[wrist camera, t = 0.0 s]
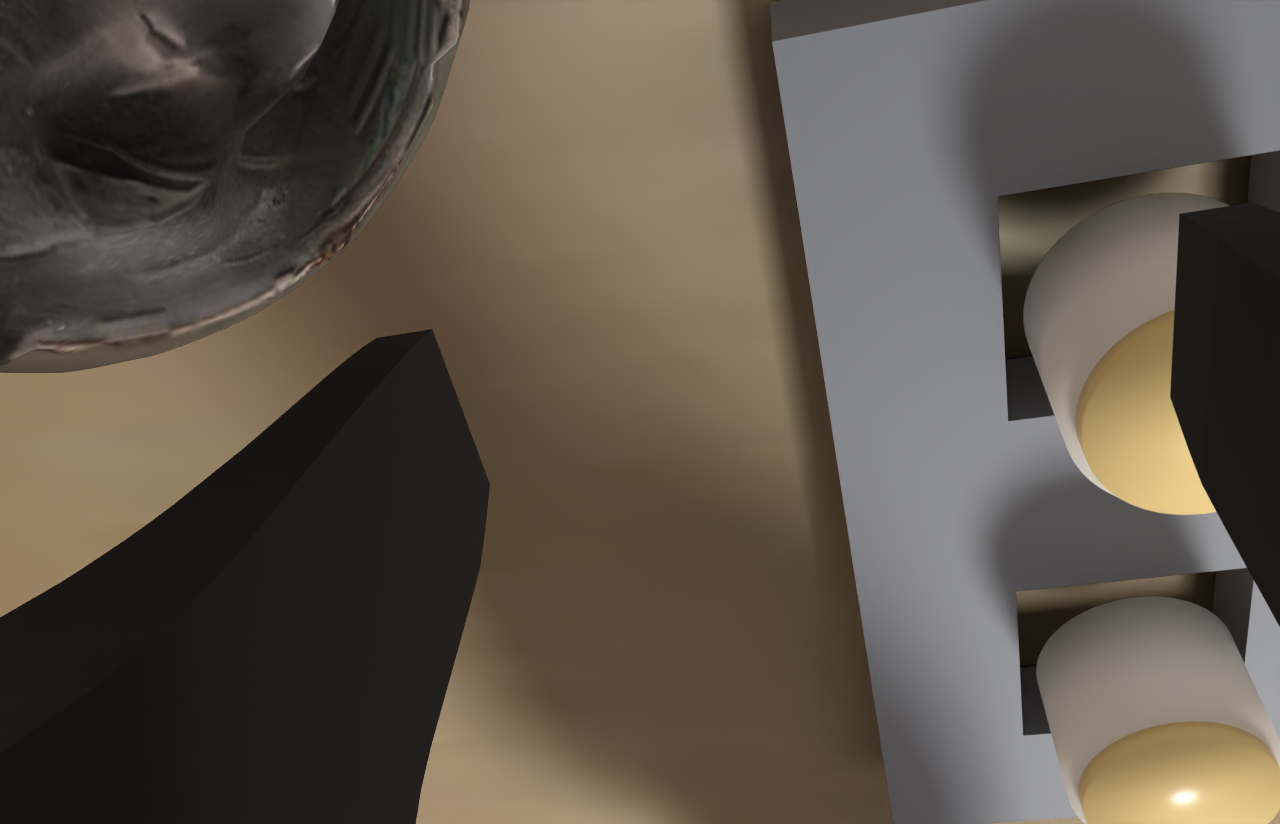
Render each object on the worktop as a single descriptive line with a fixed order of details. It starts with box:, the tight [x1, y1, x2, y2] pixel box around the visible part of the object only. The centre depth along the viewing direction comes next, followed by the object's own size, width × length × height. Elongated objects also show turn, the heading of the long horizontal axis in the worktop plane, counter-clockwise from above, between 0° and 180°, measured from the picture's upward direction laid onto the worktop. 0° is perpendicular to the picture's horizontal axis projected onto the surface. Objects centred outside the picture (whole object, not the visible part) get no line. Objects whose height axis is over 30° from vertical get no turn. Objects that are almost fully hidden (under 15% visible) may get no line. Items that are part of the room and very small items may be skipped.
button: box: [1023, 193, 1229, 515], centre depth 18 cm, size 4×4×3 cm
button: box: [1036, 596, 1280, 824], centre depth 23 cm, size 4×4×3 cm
